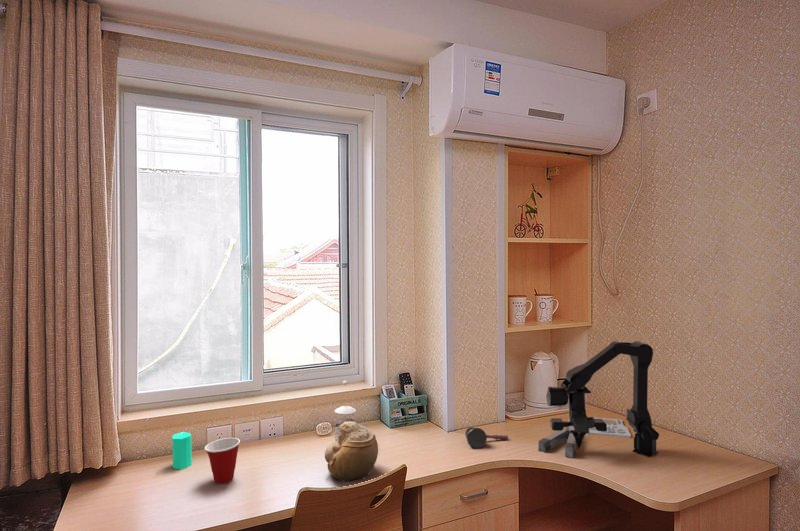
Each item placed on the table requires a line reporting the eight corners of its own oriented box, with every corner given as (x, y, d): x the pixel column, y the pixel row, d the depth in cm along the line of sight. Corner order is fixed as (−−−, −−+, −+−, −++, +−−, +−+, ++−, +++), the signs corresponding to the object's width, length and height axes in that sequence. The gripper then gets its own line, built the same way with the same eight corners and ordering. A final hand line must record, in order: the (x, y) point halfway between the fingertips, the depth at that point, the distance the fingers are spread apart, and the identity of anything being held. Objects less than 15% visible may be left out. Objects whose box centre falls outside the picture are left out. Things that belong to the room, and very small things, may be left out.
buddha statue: (332, 461, 171) (333, 411, 172) (381, 464, 170) (382, 414, 170) (316, 486, 152) (317, 430, 152) (371, 490, 150) (372, 433, 150)
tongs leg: (570, 439, 189) (570, 429, 189) (577, 440, 188) (577, 430, 188) (565, 456, 173) (565, 446, 173) (572, 457, 172) (572, 447, 172)
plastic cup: (208, 474, 161) (207, 438, 161) (242, 471, 164) (242, 435, 163) (201, 489, 151) (201, 450, 151) (238, 485, 153) (238, 447, 153)
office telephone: (568, 427, 198) (567, 412, 217) (568, 434, 198) (567, 418, 217) (631, 432, 191) (624, 416, 210) (631, 439, 191) (624, 422, 210)
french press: (328, 450, 181) (327, 383, 180) (339, 439, 192) (339, 375, 192) (353, 453, 178) (353, 384, 178) (363, 441, 190) (362, 377, 189)
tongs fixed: (565, 435, 194) (565, 422, 194) (575, 437, 191) (575, 425, 191) (538, 450, 179) (538, 437, 179) (549, 453, 176) (549, 440, 176)
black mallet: (466, 448, 181) (461, 443, 189) (513, 452, 182) (506, 447, 191) (468, 427, 182) (462, 423, 190) (515, 431, 184) (507, 427, 192)
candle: (173, 463, 170) (172, 429, 170) (192, 460, 173) (191, 426, 172) (172, 470, 165) (171, 434, 165) (191, 467, 167) (190, 432, 167)
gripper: (553, 411, 171) (555, 456, 171) (610, 411, 168) (612, 457, 168) (549, 402, 182) (550, 444, 182) (601, 402, 179) (603, 445, 179)
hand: (578, 448), depth 177 cm, fingers closed
